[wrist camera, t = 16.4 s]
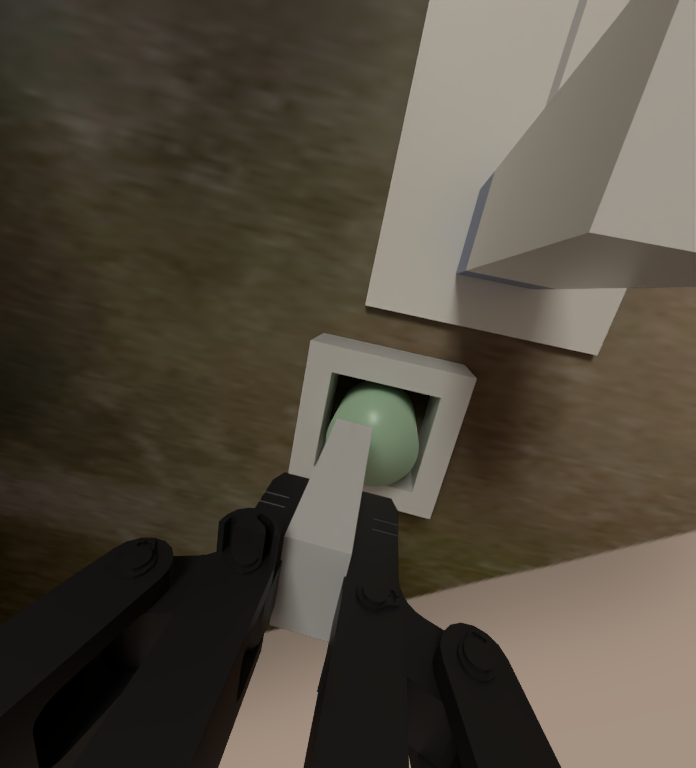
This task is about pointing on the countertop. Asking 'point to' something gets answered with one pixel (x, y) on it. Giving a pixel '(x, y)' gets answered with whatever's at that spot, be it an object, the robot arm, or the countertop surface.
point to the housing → (391, 368)
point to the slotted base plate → (482, 164)
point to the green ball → (383, 429)
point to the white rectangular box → (602, 169)
